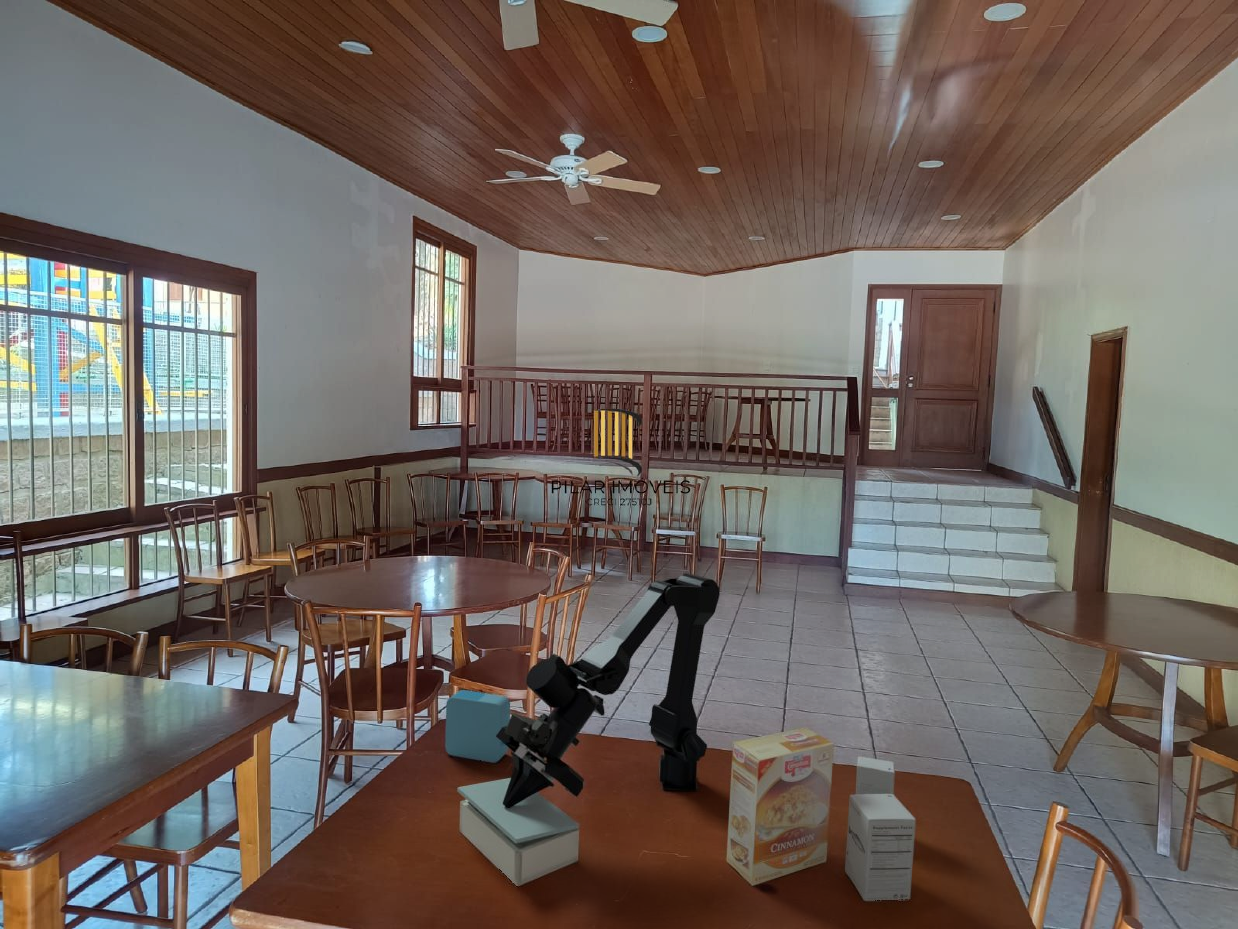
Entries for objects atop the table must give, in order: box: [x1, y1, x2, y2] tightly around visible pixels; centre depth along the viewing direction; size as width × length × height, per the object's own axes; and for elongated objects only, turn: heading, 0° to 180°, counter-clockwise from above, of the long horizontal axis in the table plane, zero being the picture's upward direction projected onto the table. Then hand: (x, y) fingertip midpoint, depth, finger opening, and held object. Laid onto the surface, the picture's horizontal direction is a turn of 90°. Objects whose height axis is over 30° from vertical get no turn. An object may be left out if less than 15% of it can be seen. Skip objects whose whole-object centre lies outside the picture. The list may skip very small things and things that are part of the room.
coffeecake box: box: [726, 726, 835, 887], centre depth 118 cm, size 15×7×20 cm, turn 117°
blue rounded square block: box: [445, 689, 511, 764], centre depth 151 cm, size 12×4×12 cm, turn 74°
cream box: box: [459, 799, 580, 887], centre depth 121 cm, size 11×18×5 cm, turn 39°
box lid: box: [456, 777, 580, 843], centre depth 120 cm, size 11×18×1 cm, turn 39°
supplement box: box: [844, 793, 917, 902], centre depth 113 cm, size 7×7×13 cm
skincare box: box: [855, 755, 896, 795], centre depth 128 cm, size 6×4×12 cm
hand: (505, 806), depth 119 cm, fingers closed, pressing on box lid
